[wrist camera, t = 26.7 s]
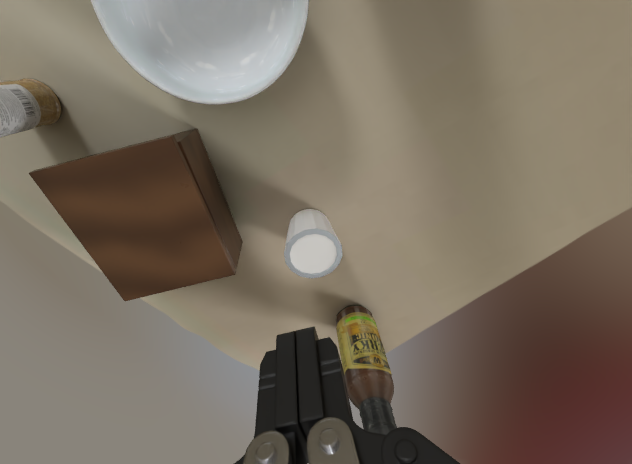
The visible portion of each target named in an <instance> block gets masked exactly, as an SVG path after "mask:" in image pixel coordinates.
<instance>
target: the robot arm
mask: <svg viewBox="0 0 632 464" xmlns="http://www.w3.org/2000/svg"><path fill="white" fill-rule="evenodd" d="M259 378H260V380H259V391H258V402H257V415H256V427H255V436H254V439H253V440H252V442H251V443H250V445H249V446H248V448H247V450H246V453H245V455H244V456H243V457H242V458H241V459H240V460H239V461H237V462H236V463H235V464H307V463H309V464H460V463H459V462H457V461H456V460H455V459H453V458H452V457H451V456H449V455H448V454H447V453H445V452H444V451H443V450H442V449H440V448H439V447H437V446H436V445H435V444H434V443H432V442H431V441H430V440H428V439H427V438H426V437H424V436H423V435H422V434H420V433H419V432H417V431H416V430H413V429H411V428H407V427H400V428H395V429H393V430H391V431H390V432H389V433H388V434H387V435H385V434H379V433H372V432H368V431H365V430H363V429H362V428H360V427H359V426H358V425H356V423H355V422H354V421H353V417H352V412H351V407H350V402H349V397H348V391H347V386H346V381H345V376H344V371H343V367H342V364H341V360H340V356H339V353H338V349H337V346H336V345H335V344H334V342H333V341H332V340H331V338H330V337H329V338H324V339H320V340H319V339H318V336H317V333H316V330H315V327H310V328H306V329H301V330H297V331H293V332H289V333H284V334H280V335H277V339H276V350H273V351H268V352H266V354H265V356H264V358H263V360H262V362H261V364H260V376H259Z"/></svg>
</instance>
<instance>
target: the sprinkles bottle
mask: <svg viewBox="0 0 632 464" xmlns="http://www.w3.org/2000/svg"><path fill="white" fill-rule="evenodd" d="M60 115H61V105H60V102H59V100H58V98H57V96H56V95H55V94H54V92H53V91H52V90H51V89H50V88H49V87H48V86H46V85H45V84H43V83H41V82H39V81H36V80H34V79H22V80H18V81H7V82H5V81H0V137H3V136H7V135H10V134H14V133H18V132H22V131H26V130H29V129H32V128H34V127H38V126H42V125H50V124H53V123H55V122H57V120H58V119H59V117H60Z"/></svg>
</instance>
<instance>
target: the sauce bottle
mask: <svg viewBox="0 0 632 464" xmlns="http://www.w3.org/2000/svg"><path fill="white" fill-rule="evenodd" d="M336 325H337V328H336V330H337V336H338V342H339V349H340V355H341V361H342V367H343V371H344V376H345V381H346V386H347V391H348V396H349V398H350V400H351V402H352V403H353V404H354V405H355V406H356V407H357V408H358V409H359V410H360V416H361V418H362V423H363V428H364V430H365V431H368V432H372V433H379V434H385V435H387V434H388V433H389V432H390V431H391V430H393V429H395V428H397V426H396V424H395V420H394V416H393V413H392V407H391V405H390V403H391V400H392V396H393V393H394V385H393V380H392V377H391V371H390V368H389V365H388V362H387V358H386V355H385V351H384V348H383V345H382V342H381V339H380V335H379V333H378V329H377V326H376V323H375V320H374V319H373V317H372V314H371V312H370V311H369V310H367V309H366V308H364V307H362V306H349V307H346V308H345V309H343V310H342V311H341V312H340V313H339V314H338V315H337V319H336Z"/></svg>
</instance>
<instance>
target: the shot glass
mask: <svg viewBox="0 0 632 464" xmlns="http://www.w3.org/2000/svg"><path fill="white" fill-rule="evenodd" d="M284 256H285V262H286V264H287V265H288V267H289V268H290V270H291V271H292V272H294V273H296V274H297V275H299V276H301V277H306V278H317V277H323V276H325V275H327V274H329V273H331V272H332V271H333V270H334V269H335V268H336V267H337V266H338V265H339V263H340V260H341V258H342V245H341V243H340V242H339V240H338V238H337V236H336V234H335V232H334V230H333V228H332V226H331V224H330V222H329V220H328V219H327V217H326V215H325V214H323V213H322V212H320V211H319V210H315V209H305V210H301V211H300V212H298V213H296V214H295V215H294V216H293V217H292V219H291V220H290V224H289V227H288V233H287V239H286V245H285V251H284Z"/></svg>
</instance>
